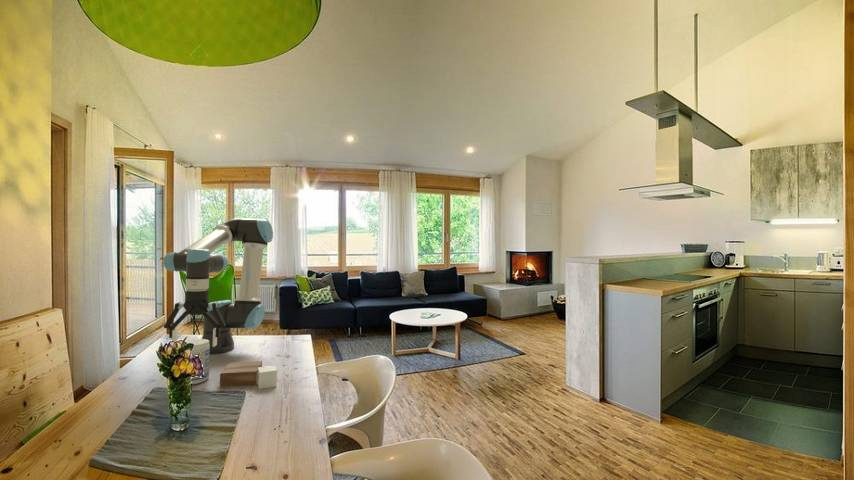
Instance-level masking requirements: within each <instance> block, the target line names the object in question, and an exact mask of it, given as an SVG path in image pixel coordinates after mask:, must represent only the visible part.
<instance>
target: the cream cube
mask: <svg viewBox="0 0 854 480" xmlns="http://www.w3.org/2000/svg"><path fill="white" fill-rule="evenodd" d="M277 380H278V370H277V366H276V365H266V366H262V367H258V381H257V383H256V384H257V387H258V389H259V390H260V389H266V388H273V387H277V384H278V383H277Z"/></svg>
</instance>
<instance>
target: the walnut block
mask: <svg viewBox="0 0 854 480" xmlns="http://www.w3.org/2000/svg"><path fill="white" fill-rule="evenodd" d="M258 367H263V361H239V362H235V361H234V362H228V364H227V365H226V366H225V367H224V368H223V369H222V371H221V372H220V374H219V388H229V387H246V386H247V387H248V386H256V385H257V384H258V383H257V382H258Z"/></svg>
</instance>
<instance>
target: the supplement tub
mask: <svg viewBox="0 0 854 480" xmlns="http://www.w3.org/2000/svg"><path fill="white" fill-rule="evenodd" d="M185 341H186V342H187V343H193V344H194V347H193V350H192V354H193V355H198V353H199V351H200V350H201V354H200V359H201V361H202V364H203V368H204V377H203V378H199V377H194V378H192V379H191V381H192V385H198V384H202V383H203V382H206V381H207V380H208V379H209V378H210V354H209V353H210V344H209V340H207V339H202V338H198V339H196V338H195V339H190V340H185Z"/></svg>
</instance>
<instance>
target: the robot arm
mask: <svg viewBox="0 0 854 480" xmlns="http://www.w3.org/2000/svg"><path fill="white" fill-rule="evenodd" d="M273 230H274V229H273V226H272V223H271V222H270V221H269V220H267V219H264V218H245V217H244V218H241V217H239V218H238V217H236V218H232V219H228V220H225V221H223V222H222V223H219V224H217V225H216V226H214V228H212V231H210V232H209V233H207V234H206V235H204V236H203V237H201V238H200V239H198V240H197V241H195V242H193V243H192V244H190V245H188V246H187V247H186V248H184V249H183V250H180V251H179V252H175V251H174V252H168V253H166V254H165V256H164V258H163V266H164V269H165V270H167V271H169V272H170V271H171V272H184V273H185V274H186V276H185V290H186V291H184V303H182V302H176V303H174V307H173V310H172V312H171V314H170V316H169V317H168V318H167V320H166V321H165V323H164V325H163V329H167V330H169V335H168V337H169V339H171V342H172V341H177V342H178V333H179V332H178V331H179V328H177V327H178V326H179V324H180V323H181V322H182V321H183V320H185V318H187V316H189V315H190V316H194V315H197V316H200V315H203V320H202V321H203V325H202V328H203V330H202V336H201V339H207V340H209V344H210V353H209V355H212V354H220V353H221V354H222V353H225V352H226V353H227V352H230V351H232V350H233V349H235V341H234V338H233V335H232V331H231V330H232V329H238V330H239V329H240V330H249V329H250V330H251V329H252V330H253V329H257V328H258V327H259V326H260V325H261V324H262V323H263V320H264V317H265V312H266V309H265V306H264V305H263V304H262V300H261V299H260V297H259V294H260V293H259V292H260V283H261V274H262V265H263V259H264V258H263V255H264V250H265V248H267V247H268V243H271V242H272V241H273V238H274V232H273ZM230 242H241V245H242V246H243V248H244V250H243V251H244V252H243V260H242V266H241V273H240V274H241V276H240V284H239V290H238V291H239V293H238V297H236V298H235V299H234V303H233V301H232V300H231V299H226V300H225V299H224V300H218V301H212V302H209V294H210V293H209V288H210V274H211V273H219V272H222V271H225V270H226V268H227V267H228V265H229V260H228V258H227V257H226V255H224V254H222V253H213V252H215V251H216V250H217V249H219V248H220V247H222V246H223V245H227V244H229V243H230ZM182 308H183V309H185V311H184V312H183V313H182V314H181V315H180V316H179V317H178V318H177V319H176V316H177V315H178V314H179V312H180V310H181V309H182ZM175 319H176V320H175ZM174 320H175V321H174Z"/></svg>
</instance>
